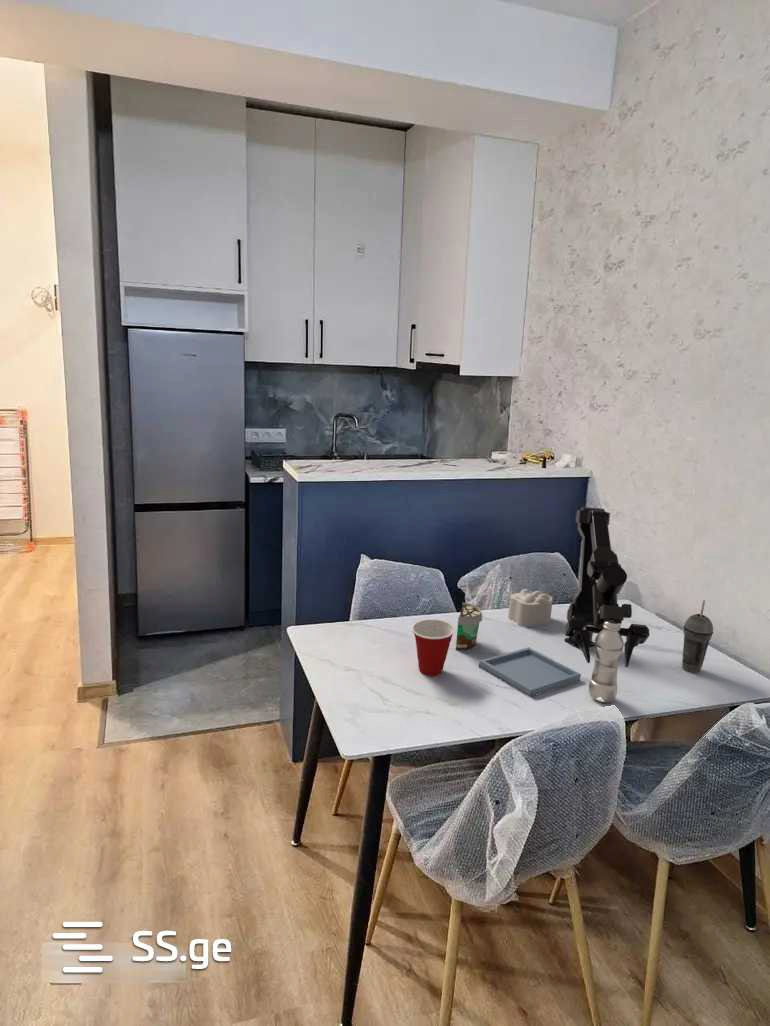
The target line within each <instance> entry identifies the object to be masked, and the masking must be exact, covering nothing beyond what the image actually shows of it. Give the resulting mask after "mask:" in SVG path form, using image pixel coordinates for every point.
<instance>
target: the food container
mask: <svg viewBox="0 0 770 1026" xmlns="http://www.w3.org/2000/svg"><path fill="white" fill-rule="evenodd" d="M482 621H483V613H482V610H481V609H480V607H478V606H476V605H474V604H472V603H468V602H462V605H461V610H460V614H459V616H458V620H457V629H456V630H457V631H456V642H455V643H456V644H455V650H456V651H467V650H472V649H474V648H475V647H476V646H477V645H476V644H477V640H478V639H477V637H478V633H479V627H480V623H481V622H482Z"/></svg>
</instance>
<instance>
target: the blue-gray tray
mask: <svg viewBox="0 0 770 1026" xmlns="http://www.w3.org/2000/svg"><path fill="white" fill-rule="evenodd" d="M478 662H479V663H478V667H479V668H480V669H481V670H484V671H486V672H487V673H488V672H489V674H490V675H491V676H494V677H495V678H497V679H498V678H499V680H500V679H501V680H500V681H501V682H504V683H505V682H506V683H505V684H507V685H509V686H510V685H511V687H513V688H514V689H515V688H516V689H515V690H517V691H519V692H520V691H521V693H522V692H523V695H525V694H526V696H527V695H528V696H527V697H529V698H530V696H531V697H534V696H537V695H536V694H538V695H540V694H539V693H541V694H543V692H544V693H547V692H549V690H550V691H552V689H553V690H555V688H556V689H558V688H561V687H565V686H567V685H572V684H574V683H576V682H580V681H581V676H582V674H581V673H580V672H578V671H575V670H574V669H571V667H568V666H566V665H564V664H562V663H560V662H559V661H556V660H554V659H553V658H551V657H549V656H547V655H544V654H543V653H541V652H539V651H537V650H536V649H533V648H531V647H529V646H528V647H524V648H520V649H517V650H512V651H510V652H506V653H502V654H498V655H494V656H490V657H487V658H483V659H479V661H478ZM546 691H547V692H546ZM533 695H534V696H533Z"/></svg>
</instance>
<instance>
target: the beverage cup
mask: <svg viewBox="0 0 770 1026" xmlns="http://www.w3.org/2000/svg"><path fill="white" fill-rule="evenodd" d="M705 604H706V600H702V604H701V609H700V613H695V614H693V615H690V616H689V617H688V618H687V619H686V620H685V622H684V625H683V635H684V636H683V648H682V650H683V651H682V658H681V659H682V661H681V663H682V667H681V668H682V670H683V671H685V672H687V673H690V674H700V673H701V670H702V667H703V664H704V662H705V661H704V660H705V656H706V654H707V650H708V647H709V644H710V641H711V639H712V636H713V635H714V626H713V625H714V624H713V622H712V620H711V619H710V618H709V617H707V616H706V615H704V614H703V613H704V611H705V609H704V608H705Z"/></svg>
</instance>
